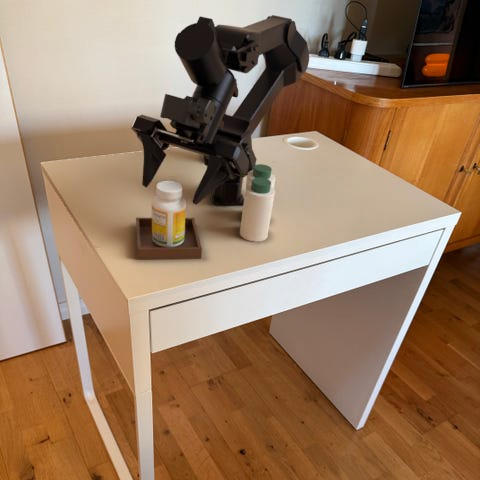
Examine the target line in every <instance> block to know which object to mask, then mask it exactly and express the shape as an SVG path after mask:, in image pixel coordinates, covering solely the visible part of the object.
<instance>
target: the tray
mask: <svg viewBox="0 0 480 480" xmlns="http://www.w3.org/2000/svg"><path fill="white" fill-rule="evenodd" d="M135 229H136V244H137V246H136V247H137V259H138V260H194V259H195V260H199V259H202V253H203V247H202V244H201V240H200V235H199V231H198V228H197V223H196V220H195V217H185V234H184V241H183V243H182V244H180V245H178V246H176V247H169V248H167V247H161V246H159V245H157V244H156V243H154V241H153V239H152V217H135Z"/></svg>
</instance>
